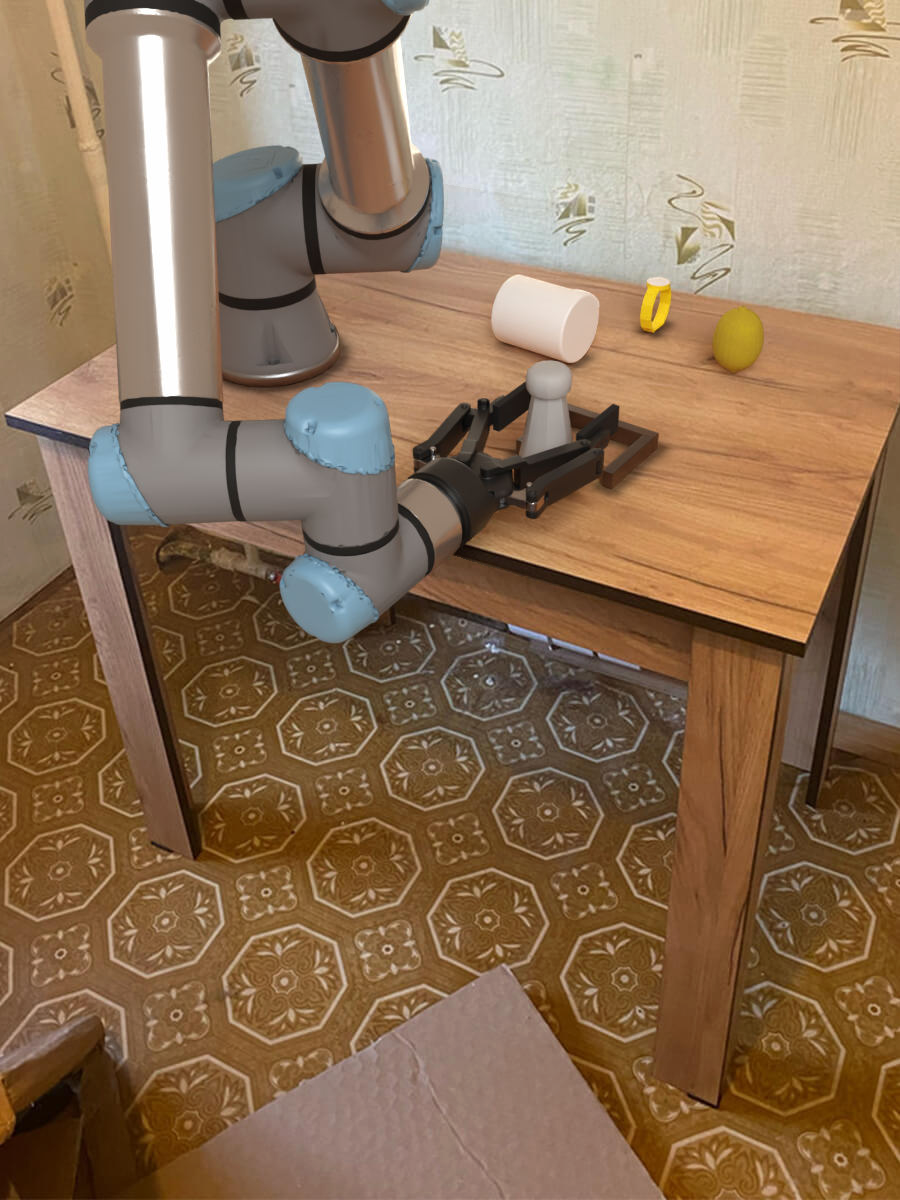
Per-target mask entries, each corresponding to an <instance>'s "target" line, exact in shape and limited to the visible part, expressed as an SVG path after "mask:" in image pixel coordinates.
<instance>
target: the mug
mask: <svg viewBox="0 0 900 1200" xmlns="http://www.w3.org/2000/svg"><path fill="white" fill-rule="evenodd" d="M600 308H601V303H600V301H599V299H598V298H597V296H596V295H594V294H593V293H591V292H589V291H587V290H583V289H578V288H569V287H566V286H562V285H558V284H555V283H552V282H548V281H545V280H541V279H538V278H533V277H531V276H527V275H523V274H514V275H512V276H510V277H508V279H506V280H505V281H504V282H503V284H502V285H501V286H500V288H499V289H498V291H497V293H496V296H495V297H494V301H493V304H492V309H491V316H490V317H491V318H490V320H491V321H490V325H491V330H492V332H493V335H494V336H495V338H496V339H497V340H498V341H499V342H502V343H505V344H508V345H511V346H515V347H518V348H520V349H524V350H526V351H530V352H533V353H535V354H539V355H542V356H545V357H548V358H551V359H555V360H556V361H560V362H563V363H568V364H573V363H574V364H575V363H577V362H579V361H580V360H581V359H582V358H583V357H585V355H586V354H587V352H588V351H589V349H590V348H591V347H592V344H593V342H594V340H595V337H596V334H597V330H598V326H599V321H600V320H599V319H600Z"/></svg>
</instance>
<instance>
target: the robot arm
mask: <svg viewBox="0 0 900 1200" xmlns="http://www.w3.org/2000/svg"><path fill="white" fill-rule="evenodd" d="M430 1H431V0H83V5H84V6H83V8H84V26H85V27H84V29H85V40H86V43H87V46H88V47H89V49H90V50H91V51H92V52H93V53H94V54H95V55H96V56H97V57H98V58H100V60H101V68H102V70H101V71H102V85H103V86H102V88H103V89H102V90H103V111H104V127H105V128H104V130H105V131H104V132H105V149H106V169H107V185H108V186H107V188H108V189H107V191H108V208H109V209H108V211H109V225H110V226H109V229H110V230H109V231H110V249H111V269H112V288H113V311H114V312H113V313H114V330H115V332H114V333H115V348H116V349H115V350H116V367H117V372H116V373H117V388H118V389H117V390H118V391H117V392H118V404H119V410H120V411H119V422H116V423H112V424H111V425H104V426H103V425H102V426H100V427H99V428H98V429H96V430H95V431H94V432H93V434H92V436H91V439H90V441H89V446H88V450H89V456H88V458H87V461H86V462H87V463H86V465H87V466H86V467H87V479H88V486H89V489H90V494H91V498H92V500H93V503H94V505H95V507H96V509H97V510H98V512H99V514H100V515H101V516H102V517H103V518H104V519H105V520H107V521H108V522H111V523H113V524H114V525H117V526H118V525H119V526H160V527H162V528H169V527H171V526H173V525H190V524H192V525H193V524H194V525H195V524H210V523H212V524H213V523H231V522H232V523H234V522H240V523H241V522H242V523H243V522H244V523H245V522H248V523H249V522H251V523H252V522H255V523H257V522H280V521H281V522H284V521H285V522H286V521H289V522H290V521H300V524H301V531H302V536H303V537H302V538H303V543H304V551H303V553H302V554H298V555H296V556H295V557H294V560H292V562H291V563H289V565H288V566H286V567H285V568H284V570H283V572H282V574H281V578H280V581H279V592H280V596H281V600H282V602H283V605H284V607H285V609H286V611H287V612H288V614H289V615H290V617H291V618H292V619H293V621H294V622H295V623H296V624H297V626H299V627H300V628H301V629H302V630H303V631H304V632H305V633H307V634H308V635H310V636H312V637H315V638H317V639H318V640H319V641H321V642H325V643H329V644H340V643H344V642H346V641H348V640H349V639H351V638H352V637H354V636H355V635H357V634H358V633H359V632H361V631H362V630H365V628H366V627H368V626H370V625H371V624H374V623H376V622H377V621H378V620H379V618H380V617H381V616H382V615H383V614H384V613H385V612H387V611H388V610H390V608H391V607H393V606H394V605H395V604H396V603H397V602H399V600H401V598H403V597H404V596H405V595H407V594H408V593H409V592H410V591H411V590H412V589H414V588H415V586H417V585H419V583H420V582H422V581H423V580H424V579H425V578H426V577H427V576H429V575H430V574H431V573H432V572H434V570H437V568H438V567H440V565H442V564H443V563H444V562H446V561H447V560H448V559H449V558H450V557H452V556H453V555H454V554H455V553H456V552H457V551H458V549H461V548H462V547H464V546H465V545H466V544H468V543H469V542H470V541H471V540H472V539H473V538H475V537H476V536H477V535H478V534H480V533H481V531H483V530H484V529H485V528H486V527H487V525H488V524H489V522H490V521H491V520H492V518H493V517H494V515H495V514H496V513H498V512H501V511H504V510H507V509H509V508H510V507H511V506H512V507H514V508H515V507H516V508H519V509H523V510H525V518H527V519H529V520H536V519H538V518H539V517H540V516H541V515H542V514H543V512H545V510H546V509H547V508H549V507H550V506H552V505H553V504H555V503H557V502H559V501H561V500H563V499H564V498H566V497H567V496H570V495H571V494H573V493H575V492H576V491H578V490H580V489H582V488H583V487H585V486H588V485H589V484H591V483H592V482H594V481H596V480H598V479H600V478H602V476H603V470H604V463H605V461H604V460H605V449H607V448H608V447H609V444H610V437H611V436H612V435H613V434H615V433H616V432H617V431H618V422H619V420H620V405H619V404H615V403H612V404H610V405H609V406H608V407H607V408H605V409H604V410H603V411H602V412H600V413H599V414H600V415H598V416H597V417H596V418H595V419H593V420H592V421H591V422H590V423H588V424H587V425H586V426H585V427H584V428H582V429H580V430H579V431H578V432H576V433H575V441H574V440H573V442H571V443H568V444H565V445H562V446H559V447H555V448H552V449H549V450H546V451H543V452H540V453H536V454H533V455H530V456H527V457H524V458H522V457H521V456H520V455H516V454H515V455H512V456H509V457H505V458H499V457H493V456H492V455H490V454H489V453H486V452H484V450H485V449H486V448H485V447H486V444H487V442H488V439H489V436H490V432H491V427H492V430H493V431H495V432H498V433H500V432H502V431H503V430H504V429H505V428H506V427H508V426H509V425H510V424H513V422H514V421H516V420H517V419H519V418H520V417H522V415H524V414H525V413H527V412H528V409H529V405H530V400H531V394H530V393H529V392H528V391H527V388H526V380H525V381H524V382H522V383H521V384H520V385H518V386H517V387H516V388H514V389H512V390H511V391H510V392H508V393H507V394H506V395H504V394H502V395H499V396H497V397H496V398H495V399H493V400H492V401H490V399H489V398H487V397H481V398H478V399H477V404H476V405H477V408H474V407H472V405H471V404H470V403H469V402H460V403H458V405H457V406H456V407H455V408H454V410H453V411H451V413H450V414H449V415H448V416H447V417H446V418H445V419H444V420H443V422H442V423H441V424H440V425H439V426H438V427H437V428H436V430H435V431H434V432H433V433H432V434H431V435H430V436H429V437H428V439H426V440H424V441H422V442H421V443H419V444H417V445H415V446H413V447H412V449H411V451H412V465H413V466H412V467H413V473H412V474H411V475H409V476H408V477H407V478H406V479H404V480H402V481H401V482H400V483H398V484H397V474H396V472H397V471H396V463H395V462H396V452H395V444H394V443H393V438H392V430H391V423H390V415H389V411H388V408H387V405H386V403H385V401H384V400H383V398H382V397H381V396H380V395H379V394H378V393H377V392H376V391H374V390H373V389H371V388H369V387H367V386H365V385H362V384H358V383H355V382H348V381H329V382H325V383H323V384H322V385H320V386H309V387H307V388H304V389H302V390H300V391H299V392H297V393H296V394H295V395H294V396H292V398H291V399H290V400H289V401H288V402H287V405H286V407H285V412H284V418H272V419H270V418H269V419H246V420H245V419H244V420H225V415H224V405H223V404H224V385H223V379H224V380H227V381H229V382H231V383H234V384H239V385H243V386H247V387H248V386H249V387H262V388H263V387H264V388H265V387H278V386H286V385H291V384H296V383H300V382H303V381H306V380H309V379H312V378H314V377H316V376H318V375H320V374H322V373H323V372H326V371H327V370H328V369H329V368H331V367H332V366H333V365H334V364H335V362H337V360H338V358H339V356H340V343H339V339H341V338H340V337H341V336H340V334H339V331H338V329H337V326H336V324H335V322H334V321H331V318H330V315H329V313H328V311H327V308H326V306H325V304H324V302H323V300H322V298H321V296H320V293H319V291H318V288H317V281H316V276H317V275H318V276H319V275H337V274H340V275H341V274H361V273H362V274H364V273H388V272H389V273H390V272H400V273H402V274H403V273H404V274H409V273H411V272H413V271H421V270H430V269H432V268H433V267H434V266H436V265H437V263H438V262H439V259H440V256H441V251H442V244H443V233H444V232H443V226H444V215H445V213H444V212H445V192H444V190H445V189H444V188H445V187H444V175H443V174H444V173H443V169H442V165H441V164H440V162H439V161H438V160H437V159H435V158H429V157H426V156H423V155H424V154H422V152H421V151H420V150H419V148H418V147H417V146H416V145H415V144H414V143H413V142H412V139H411V129H410V128H411V127H410V119H409V109H408V100H407V91H406V82H405V80H406V79H405V71H404V62H403V61H404V60H403V53H402V42H401V36H402V35H403V34H404V33H405V31H406V29H407V27H408V25H409V23H410V21H411V19H412V16H413V14H414V13H415V12H420V11H422V10H425V8H426V7H427V6H429V3H430ZM263 19H268V20H269V19H272V22H273V24H274V27H275V29H276V31H277V32H278V34H279V35H280V38H282V40H283V41H284V42H285V43H286V44H287V45H288V46H289V47H290V48H291V49H293V50H294V51H295V52H297V53H298V54H300V59H301V63H302V67H303V71H304V75H305V79H306V84H307V88H308V92H309V95H310V100H311V104H312V108H313V112H314V117H315V120H316V124H317V128H318V133H319V137H320V140H321V144H322V149H323V153H324V158H323V160H322V162H317V163H304V160H303V157H302V155H301V153H300V152H299V150H297V149H296V148H295V147H292V146H288V145H287V146H283V145H279V144H278V145H275V144H274V145H263V146H258V147H251V148H248V149H244V150H241V151H238V152H234V153H231V154H229V155H227V156H223V157H222V158H219V159H218V160H216V161H214V159H213V140H212V139H213V138H212V137H213V136H212V120H211V119H212V118H211V97H210V75H209V74H210V73H209V71H210V70H209V67H210V66H211V65H212V64H213V63H214V62H215V61H216V60H217V59H218V58H219V56H220V55H221V52H222V33H221V32H222V31H221V30H222V29H221V25H222V23H223V22H224V21H226V20H234V21H240V20H241V21H242V20H243V21H244V20H263ZM213 161H214V162H213ZM466 435H467V436H466ZM465 436H466V438H465ZM461 441H463V442H462V445H461V447H460V450H459V451H458V453H457V454H456V455H453V456H449V455H450V454H451V453H452V452H453V451H454V449H455V448H456V447H457V446H458V444H459V443H460V442H461Z"/></svg>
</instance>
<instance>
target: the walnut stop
mask: <svg viewBox="0 0 900 1200" xmlns="http://www.w3.org/2000/svg"><path fill="white" fill-rule="evenodd" d="M567 404H568V411H569V417H570V424H571V427H575V428H578V429H580V430H581V429H582V428H584V427H585V426H586V425H587V424H588V423H590V422H591V421H592V420H593V419H595V418H596V417H597V416H598V415H600V414H601V413H598V412H596V411H592V410H590V409H587V408H583V407H580V406H577V405H574V404H571V403H568V402H567ZM659 437H660V433H659V432H657V431H653V430H651V429H649V428H645V427H641V426H639V425H635V424H633V423H629V422H626V421H623V420H620V419H619V422H618V431H617V432H616V433H615V434H613V435H612V436H611V437H610V438H609V440H613V441H616V442H619V443H622V444H625V445H628V446H629V447H627V448H626V449H625V450H624V451H623V452H622V453H621V454H619V456H617V457H616V458H615V459H614V460H613V461H612V462H611V463H609V464H608V465H607V466H606V467H605V468H603V476H601V486H602V487H604V488H608V489H610V490H613V489H614V488H615V487H616V486H618V484H619V483H620V482H621V481H623V480H624V479H625V478H626V477H627V476H628V475H629V474H630V473H632V471H633V470H635V469H636V468H637V467H638V466H639V465H640V464H641V463H642V462H644V460H646V459H647V458H648V457H649V456H650V455H651V454H652V453H654V451H656V450H657V449H658V446H659ZM522 438H523V434H522V435H521V436H519V437H518V438H516V440H515V453H516V454H515V455H519V452H520V447H521V442H522Z"/></svg>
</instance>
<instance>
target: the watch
mask: <svg viewBox="0 0 900 1200" xmlns="http://www.w3.org/2000/svg"><path fill="white" fill-rule="evenodd" d="M646 288H647V290H646V291H645V294H644V297H643V299H642V303H641V306H640V313H639V323H640V327H641V329H642V330H643V332H644V331H645V332H648V333H652V334H653V333H655V332H656V331H657V330H658V329H660V328H661V327H662V326H664V325H665V323H666V320H667V318H668V315H669V312H670V308H671V303H672V296H673V295H672V287H671V281H670V279H669V278H666V277H662V276H653V277H649V278H647V280H646ZM658 295H659V303H658V306H657V309H656V313H655V315H654V318H653V320H652V317H653V309H654V305H655V303H656V299H657V297H658Z"/></svg>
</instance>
